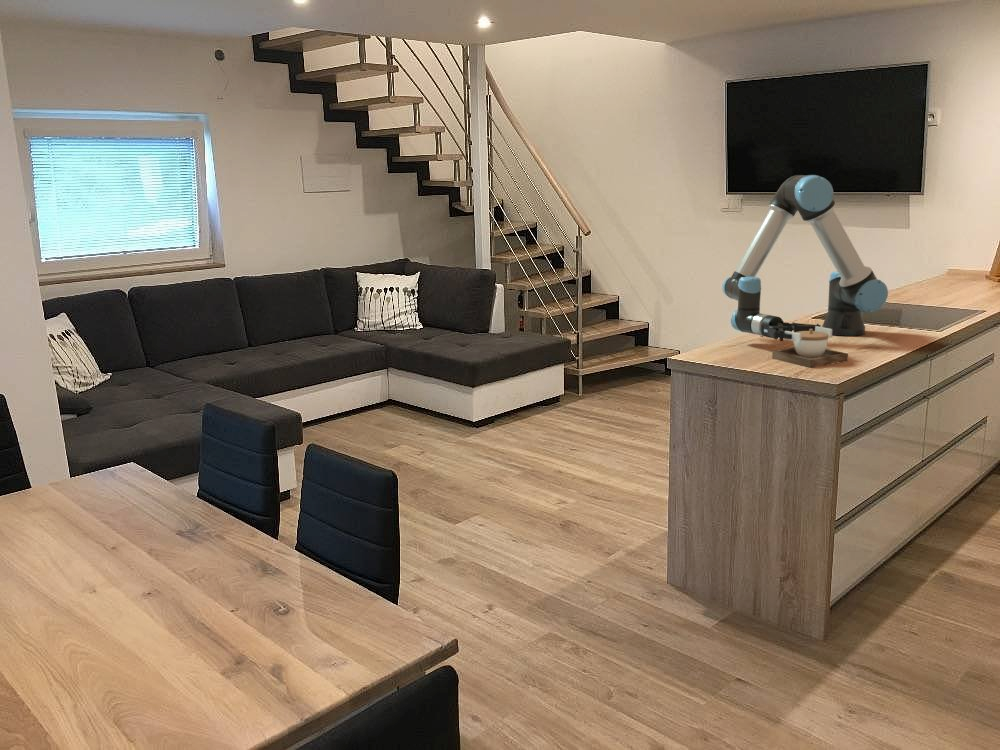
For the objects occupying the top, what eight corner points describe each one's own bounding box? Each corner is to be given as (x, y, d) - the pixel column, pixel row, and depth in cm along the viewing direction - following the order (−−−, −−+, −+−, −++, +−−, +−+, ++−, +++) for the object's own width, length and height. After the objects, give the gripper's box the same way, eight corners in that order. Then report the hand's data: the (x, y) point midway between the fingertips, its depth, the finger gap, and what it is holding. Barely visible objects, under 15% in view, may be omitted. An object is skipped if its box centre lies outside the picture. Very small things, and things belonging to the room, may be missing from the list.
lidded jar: (829, 361, 279) (831, 332, 277) (794, 360, 281) (795, 332, 279) (824, 353, 289) (826, 326, 287) (790, 353, 291) (791, 325, 289)
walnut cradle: (808, 352, 296) (809, 345, 295) (847, 361, 282) (848, 353, 281) (772, 358, 289) (772, 350, 288) (810, 367, 275) (810, 360, 274)
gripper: (794, 332, 306) (843, 342, 288) (740, 340, 295) (786, 351, 277) (795, 311, 305) (844, 320, 286) (740, 319, 294) (787, 328, 275)
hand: (816, 335), depth 282 cm, fingers open, 13 cm apart
